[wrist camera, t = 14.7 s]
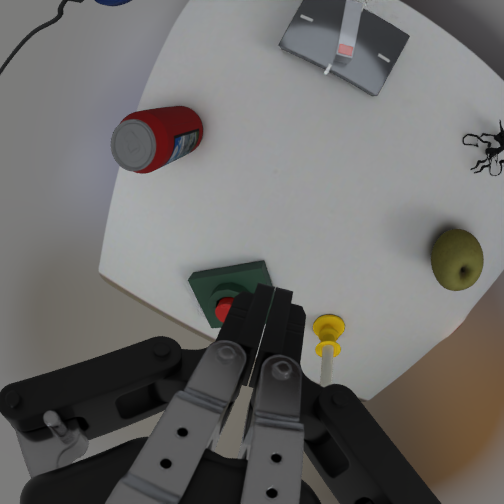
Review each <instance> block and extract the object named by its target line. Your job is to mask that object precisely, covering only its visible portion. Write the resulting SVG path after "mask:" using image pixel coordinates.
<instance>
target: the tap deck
mask: <svg viewBox="0 0 504 504" xmlns="http://www.w3.org/2000/svg"><path fill="white" fill-rule="evenodd" d="M345 2H346V0H303V2H302V3H301V5H300V7H299V9H298V10H297V12H296V14H295V16H294V18H293V19H292V21H291V23H290V25H289V27H288V28H287V30H286V32H285V34H284V36H283V37H282V39H281V41H280V43H279V46H280V48H281V49H282V50H284V51H286V52H289V53H291V54H293V55H295V56H298V57H300V58H302V59H304V60H306V61H308V62H310V63H312V64H314V65H316V66H318V67H320V68H322V69H324V70H325V72H324V75H327V74H328V72H330V73H332V74H334V75H336V76H338V77H340V78H341V79H343V80H345V81H347V82H349V83H350V84H352V85H354V86H356V87H357V88H359V89H361V90H362V91H364V92H366V93H367V94H369V95H371V96H377V95H378V93H379V92H380V90H381V88H382V86H383V84H384V83H385V81H386V79H387V77H388V75H389V74H390V72H391V70H392V68H393V66H394V64H395V63H396V61H397V59H398V57H399V55H400V53H401V52H402V50H403V48H404V46H405V44H406V42H407V40H408V38H409V37H410V36H409V35H408V34H406V33H405V32H403V31H401V30H400V29H398V28H397V27H395V26H393V25H392V24H390V23H388V22H387V21H385V20H383V19H381V18H380V17H378V16H376V15H374V14H372V13H371V12H369V11H367V10H365V9H364V7H365V5H366V4H367V3H366V2H363V5H362V11H361V16H360V22H359V27H358V33H357V38H356V43H355V48H354V53H353V58H352V60H351V61H350V62H349V63H348V64H346V63H342V62H338V61H334V56H335V51H336V46H337V41H338V36H339V31H340V26H341V20H342V15H343V10H344V6H345Z"/></svg>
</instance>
